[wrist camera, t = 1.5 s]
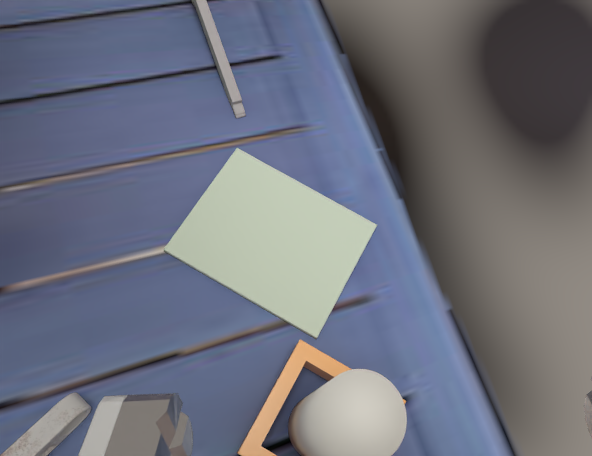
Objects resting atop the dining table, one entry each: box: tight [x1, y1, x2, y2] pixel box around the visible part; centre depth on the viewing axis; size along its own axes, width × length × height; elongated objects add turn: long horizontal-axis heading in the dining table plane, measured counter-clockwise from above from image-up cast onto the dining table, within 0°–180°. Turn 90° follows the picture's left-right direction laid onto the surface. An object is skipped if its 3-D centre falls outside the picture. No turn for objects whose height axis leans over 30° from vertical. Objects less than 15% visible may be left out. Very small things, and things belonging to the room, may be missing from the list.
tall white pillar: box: [288, 369, 407, 456], centre depth 35 cm, size 5×5×14 cm
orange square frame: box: [237, 340, 406, 456], centre depth 41 cm, size 9×9×2 cm
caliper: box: [191, 0, 246, 118], centre depth 53 cm, size 20×1×6 cm, turn 22°
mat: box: [164, 148, 377, 339], centre depth 47 cm, size 15×12×1 cm
